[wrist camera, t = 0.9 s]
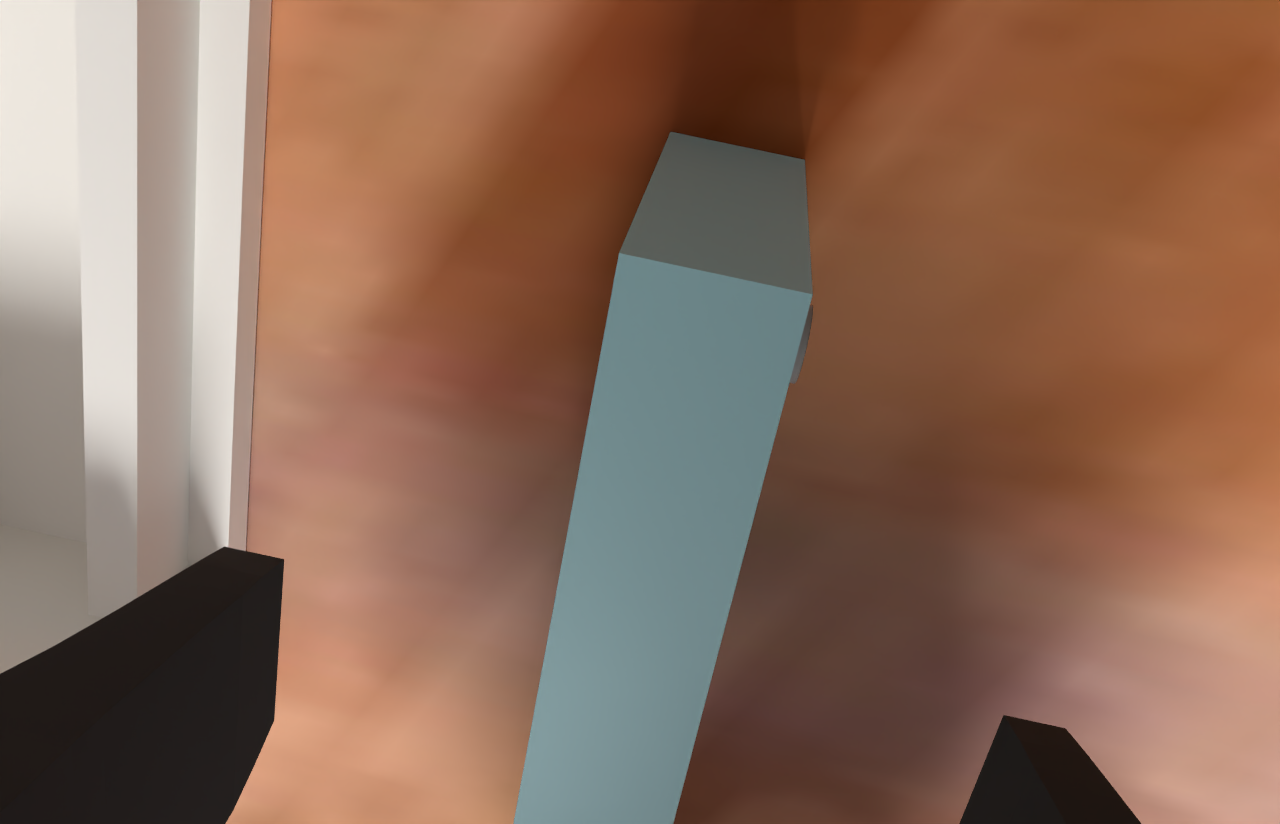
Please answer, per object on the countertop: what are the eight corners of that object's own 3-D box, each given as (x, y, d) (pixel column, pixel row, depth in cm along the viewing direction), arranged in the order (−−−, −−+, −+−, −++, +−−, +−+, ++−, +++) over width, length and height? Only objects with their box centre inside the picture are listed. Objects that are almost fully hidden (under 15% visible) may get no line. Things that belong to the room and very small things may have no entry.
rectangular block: (711, 608, 21) (684, 870, 16) (582, 580, 21) (512, 830, 16) (824, 162, 17) (841, 300, 12) (671, 130, 18) (619, 252, 12)
